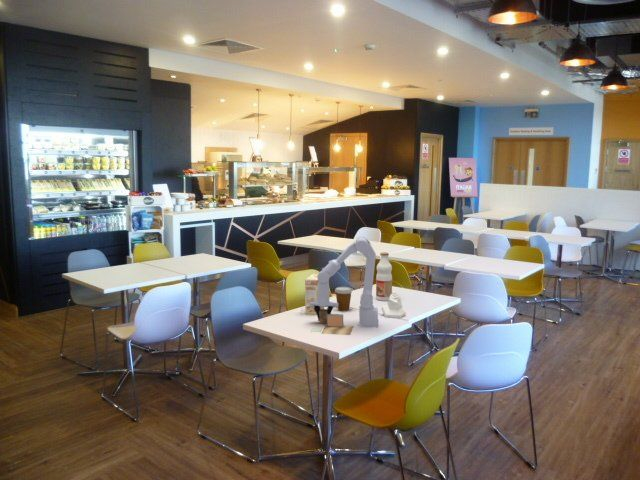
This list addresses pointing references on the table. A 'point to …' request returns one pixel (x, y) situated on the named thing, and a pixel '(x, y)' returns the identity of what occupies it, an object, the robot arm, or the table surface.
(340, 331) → the mat
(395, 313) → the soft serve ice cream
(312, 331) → the block
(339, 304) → the disposable coffee cup
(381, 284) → the fruit juice
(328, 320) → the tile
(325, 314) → the block
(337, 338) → the table surface
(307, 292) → the coffeecake box
